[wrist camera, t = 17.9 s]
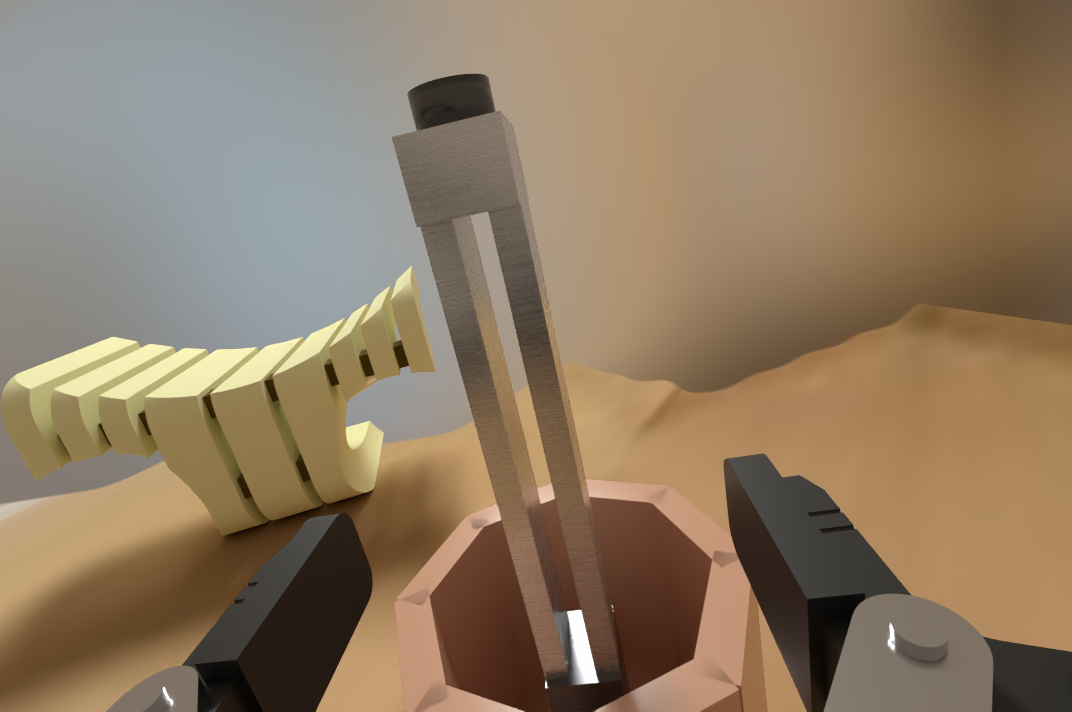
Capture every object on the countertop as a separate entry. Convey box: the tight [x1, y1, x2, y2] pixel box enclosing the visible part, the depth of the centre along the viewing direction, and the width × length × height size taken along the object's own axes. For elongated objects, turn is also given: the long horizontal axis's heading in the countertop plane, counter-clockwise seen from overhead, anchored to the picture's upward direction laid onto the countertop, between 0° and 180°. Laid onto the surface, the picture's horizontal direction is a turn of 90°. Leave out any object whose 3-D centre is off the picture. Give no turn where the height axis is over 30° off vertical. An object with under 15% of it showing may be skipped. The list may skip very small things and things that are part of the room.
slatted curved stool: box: [1, 266, 435, 536], centre depth 47 cm, size 30×16×18 cm, turn 103°
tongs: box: [392, 74, 630, 712], centre depth 16 cm, size 3×2×24 cm
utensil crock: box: [395, 479, 767, 712], centre depth 18 cm, size 11×11×10 cm
